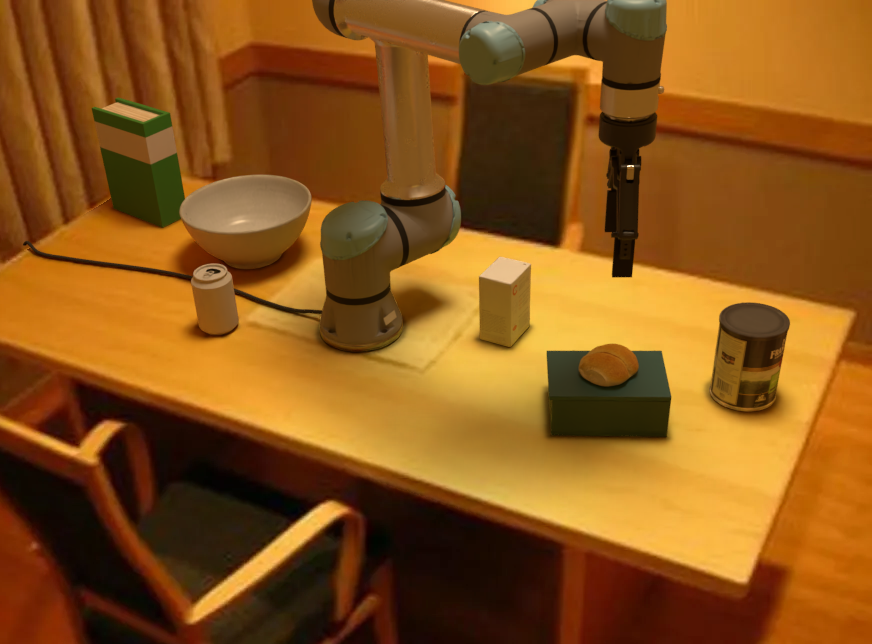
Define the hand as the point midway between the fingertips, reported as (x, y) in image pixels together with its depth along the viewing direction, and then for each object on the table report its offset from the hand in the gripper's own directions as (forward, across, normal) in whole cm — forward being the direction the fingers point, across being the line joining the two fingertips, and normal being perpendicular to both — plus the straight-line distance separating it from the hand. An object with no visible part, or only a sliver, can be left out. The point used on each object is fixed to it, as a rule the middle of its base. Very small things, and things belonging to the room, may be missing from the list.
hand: (617, 253), depth 156 cm
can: (+29, +26, +69) cm, 79 cm away
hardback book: (+29, +74, +96) cm, 125 cm away
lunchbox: (+29, 0, 0) cm, 29 cm away
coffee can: (+29, +6, -22) cm, 37 cm away
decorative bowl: (+29, +54, +68) cm, 91 cm away
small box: (+29, +24, +16) cm, 41 cm away
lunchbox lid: (+22, 0, 0) cm, 22 cm away
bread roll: (+21, 0, 0) cm, 21 cm away
